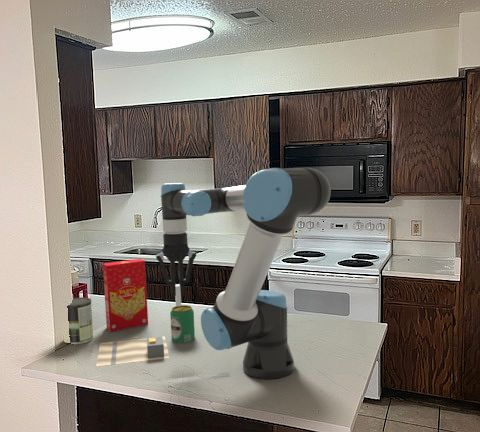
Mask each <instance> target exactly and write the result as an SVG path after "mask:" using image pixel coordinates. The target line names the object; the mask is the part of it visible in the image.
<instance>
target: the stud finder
mask: <svg viewBox="0 0 480 432" xmlns="http://www.w3.org/2000/svg"><path fill="white" fill-rule="evenodd" d="M162 337H163V336H157V337H156V338H155V337H147V352H148V358H156V357H164V344H163V338H162Z"/></svg>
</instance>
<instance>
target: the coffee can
mask: <svg viewBox="0 0 480 432" xmlns="http://www.w3.org/2000/svg"><path fill="white" fill-rule="evenodd" d="M72 298H73V300H72V303H71V304H70V305H68V306H67V308H68V321H69V335H70V336H69V337H70V343H71V344H70V345H72V344H74V345H82V344H86V343H88V342H90V341H92V340H93V339H94V331H93V329H94V328H93V327H94V326H93V314H92V312H93V311H92V298H90V297H72Z"/></svg>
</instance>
